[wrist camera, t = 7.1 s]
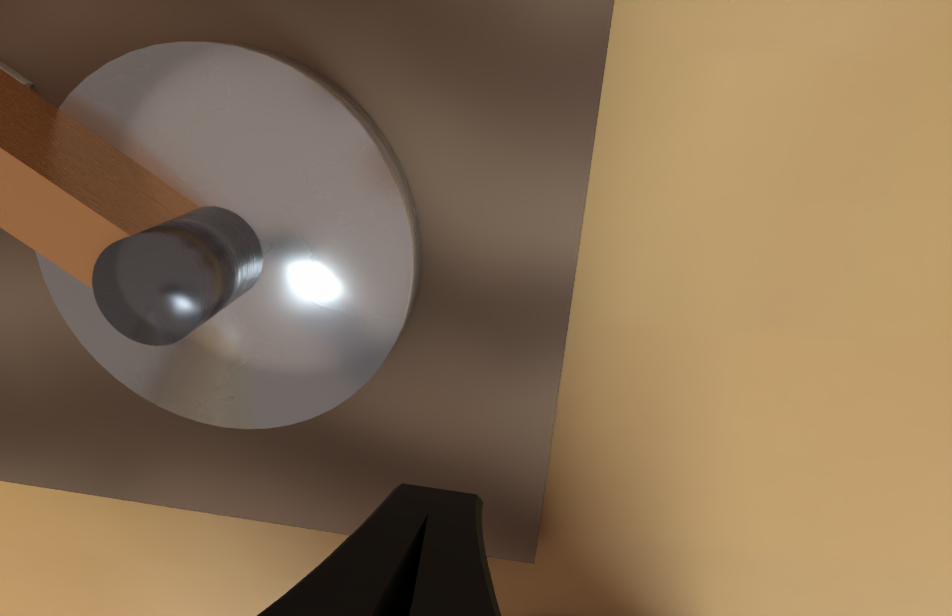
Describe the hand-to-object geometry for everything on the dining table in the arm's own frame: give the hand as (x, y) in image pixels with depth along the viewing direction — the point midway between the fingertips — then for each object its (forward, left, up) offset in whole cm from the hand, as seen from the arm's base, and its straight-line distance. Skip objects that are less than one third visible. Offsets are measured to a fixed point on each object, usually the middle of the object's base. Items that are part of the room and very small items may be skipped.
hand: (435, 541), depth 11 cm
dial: (+2, +7, -8) cm, 11 cm away
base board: (+2, +7, -9) cm, 12 cm away
